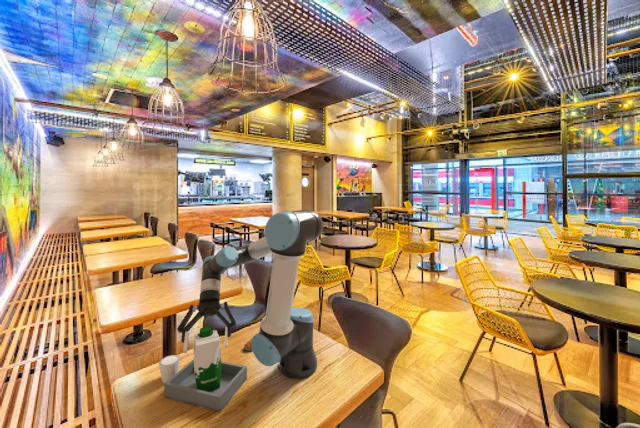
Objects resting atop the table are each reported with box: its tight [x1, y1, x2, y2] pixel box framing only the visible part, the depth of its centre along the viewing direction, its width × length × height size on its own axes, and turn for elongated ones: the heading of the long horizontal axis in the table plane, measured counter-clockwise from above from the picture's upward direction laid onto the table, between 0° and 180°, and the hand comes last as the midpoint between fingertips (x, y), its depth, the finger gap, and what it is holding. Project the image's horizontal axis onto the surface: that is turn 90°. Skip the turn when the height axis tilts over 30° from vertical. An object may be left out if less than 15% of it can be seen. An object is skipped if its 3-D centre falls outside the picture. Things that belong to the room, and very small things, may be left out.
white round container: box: [158, 354, 181, 384], centre depth 103 cm, size 7×7×7 cm
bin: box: [163, 358, 248, 413], centre depth 98 cm, size 22×16×5 cm
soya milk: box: [192, 325, 222, 392], centre depth 97 cm, size 9×9×20 cm
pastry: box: [243, 337, 253, 352], centre depth 124 cm, size 9×7×4 cm
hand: (205, 349), depth 97 cm, fingers open, 13 cm apart
